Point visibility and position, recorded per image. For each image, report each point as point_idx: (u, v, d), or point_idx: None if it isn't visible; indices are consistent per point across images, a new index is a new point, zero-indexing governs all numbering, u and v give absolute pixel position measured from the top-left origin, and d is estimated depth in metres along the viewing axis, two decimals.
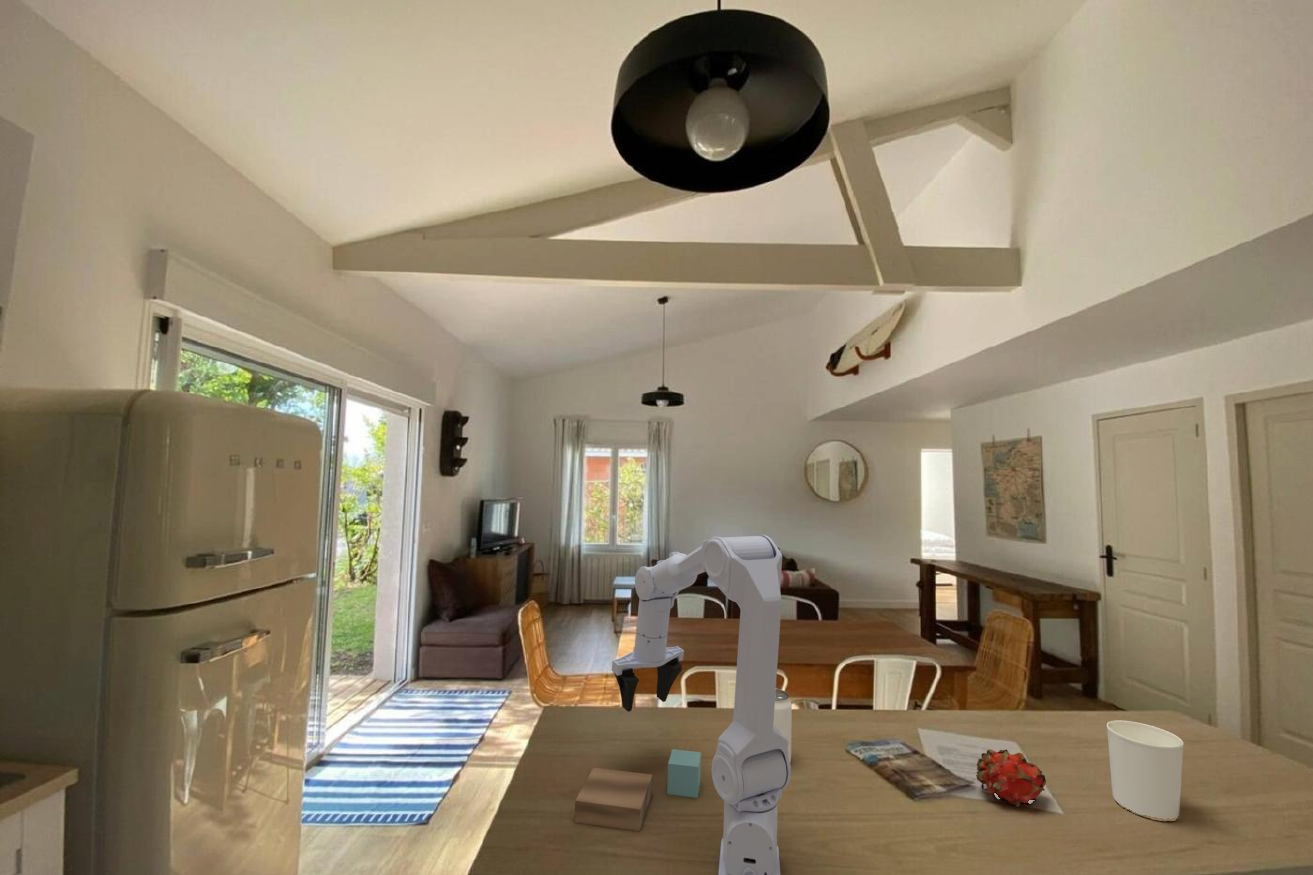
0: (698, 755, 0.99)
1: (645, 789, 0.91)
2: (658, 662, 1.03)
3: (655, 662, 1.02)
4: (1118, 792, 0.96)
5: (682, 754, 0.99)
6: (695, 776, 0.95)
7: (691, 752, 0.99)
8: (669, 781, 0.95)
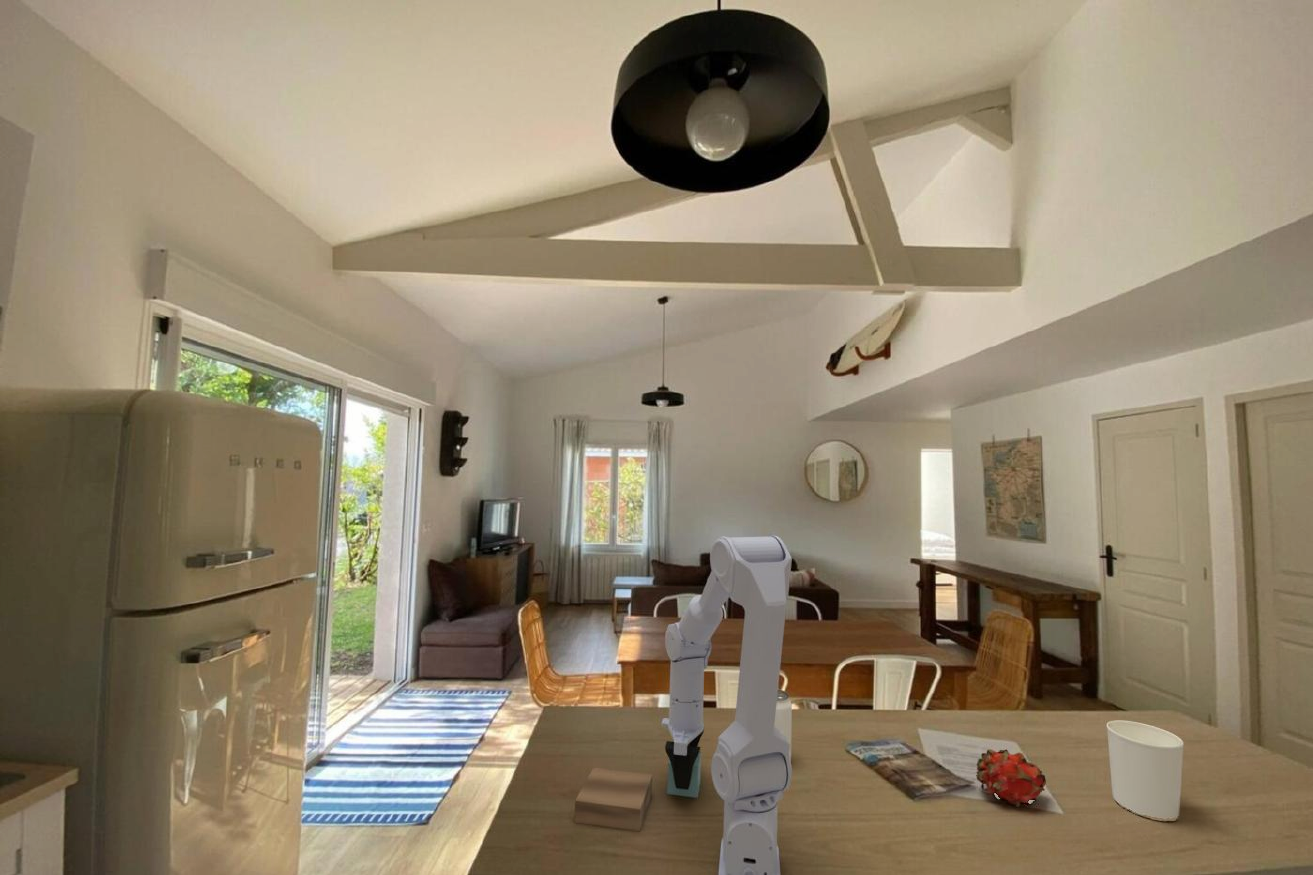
0: (698, 754, 0.99)
1: (645, 789, 0.91)
2: (703, 724, 0.97)
3: (702, 726, 0.97)
4: (1118, 792, 0.96)
5: None
6: (694, 775, 0.95)
7: None
8: (669, 780, 0.95)
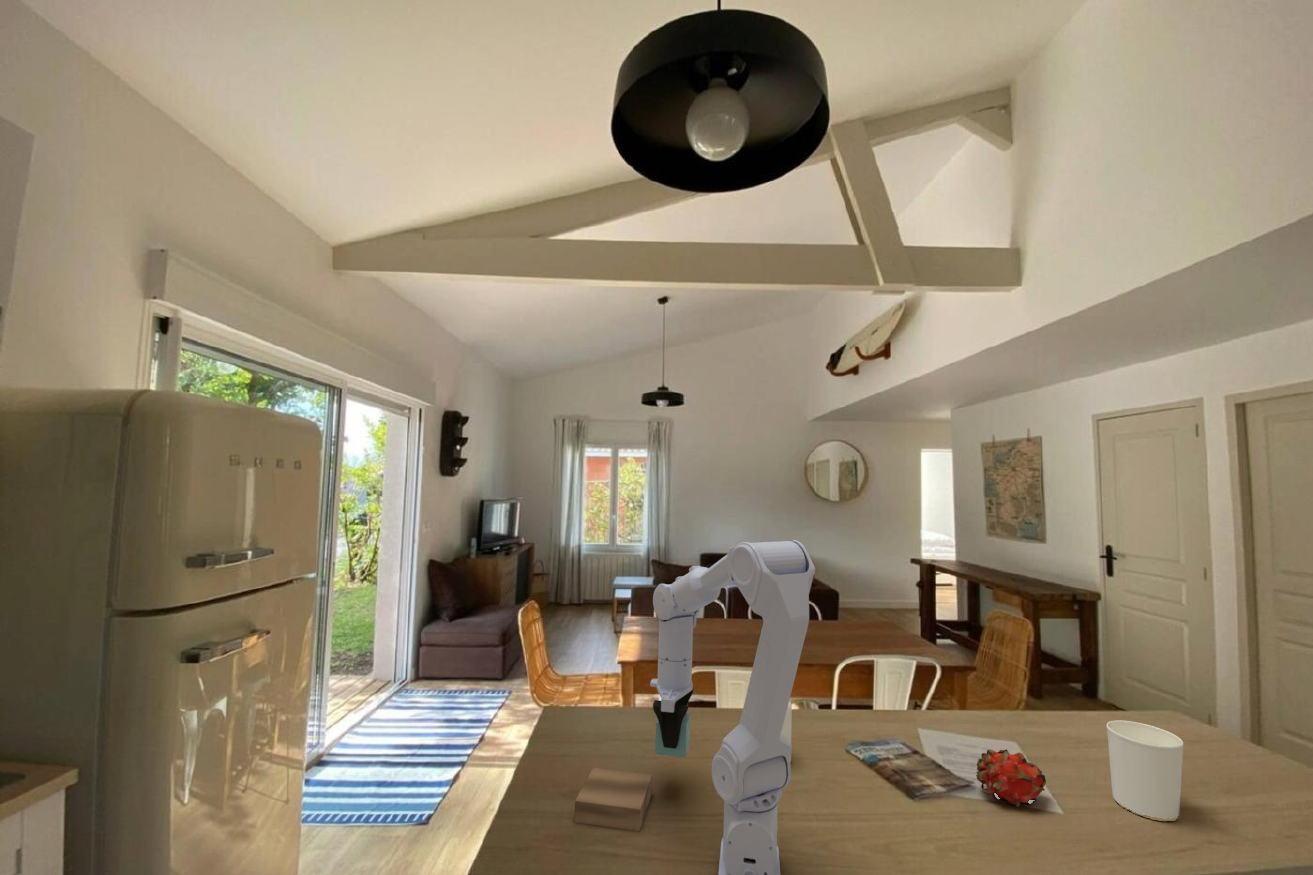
0: (687, 715, 0.98)
1: (645, 789, 0.91)
2: (691, 684, 0.97)
3: (690, 685, 0.96)
4: (1118, 792, 0.96)
5: None
6: (683, 735, 0.94)
7: None
8: (657, 740, 0.95)
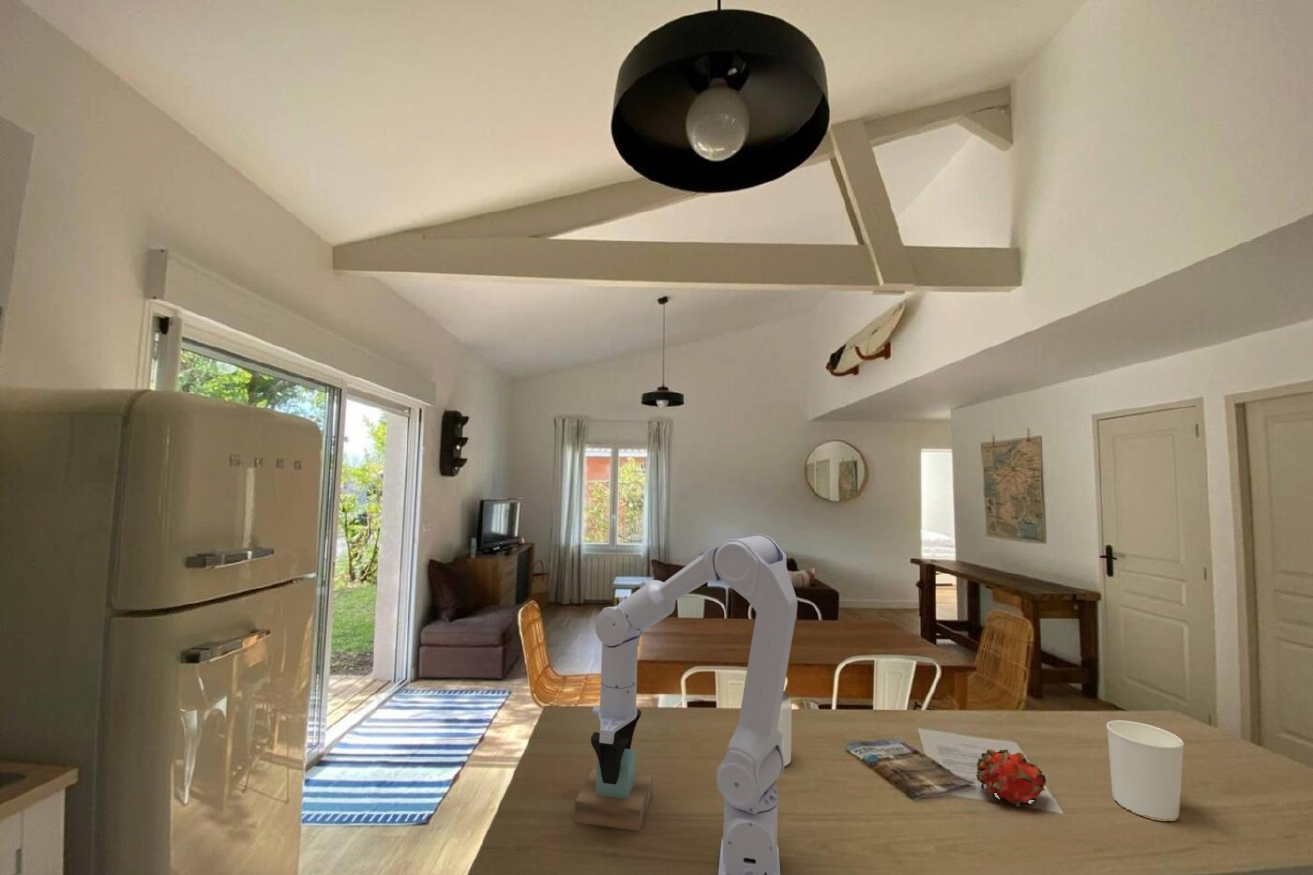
0: (631, 753, 0.92)
1: (645, 790, 0.91)
2: (636, 712, 0.91)
3: (634, 713, 0.91)
4: (1118, 792, 0.96)
5: None
6: (624, 775, 0.89)
7: (625, 750, 0.93)
8: (598, 780, 0.89)
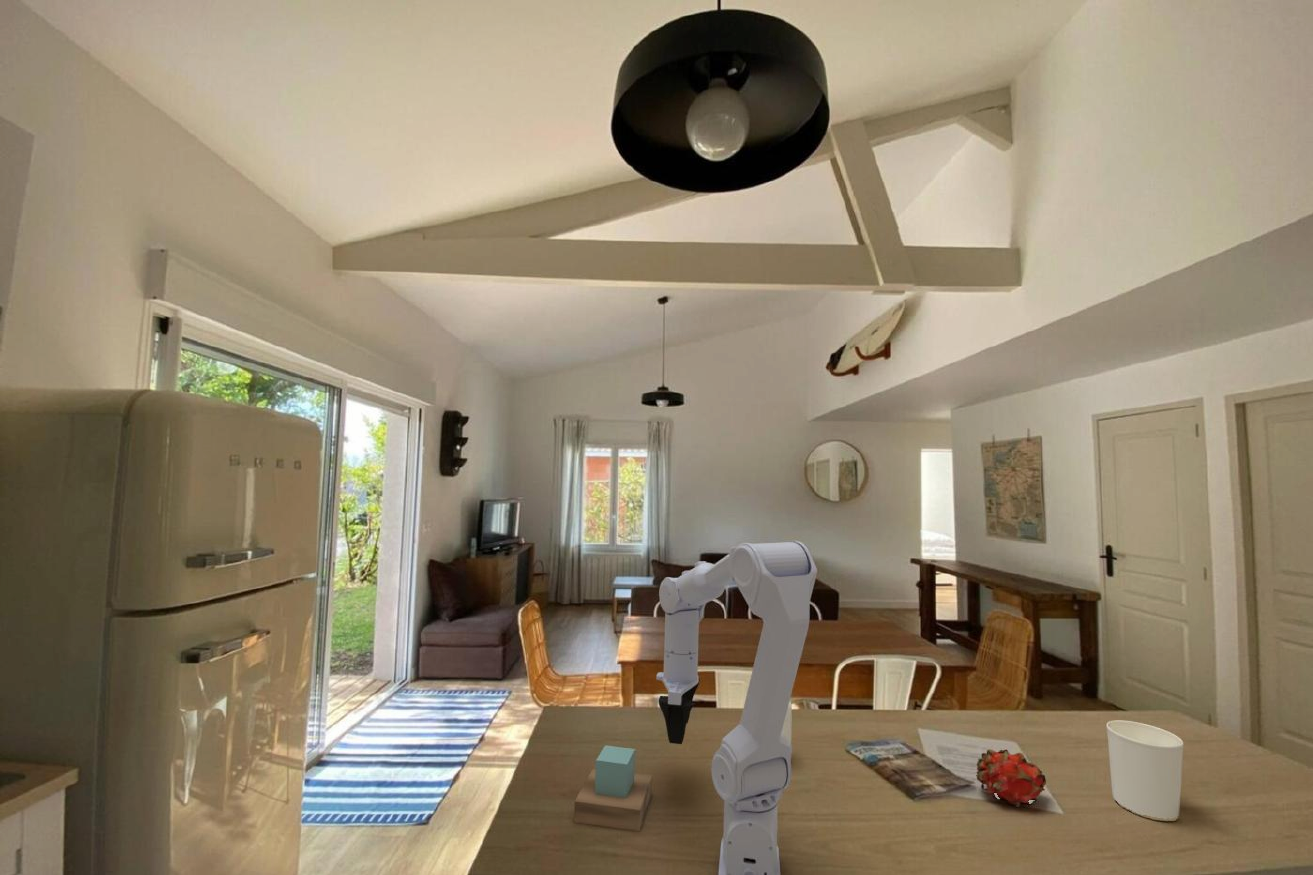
0: (631, 752, 0.93)
1: (645, 790, 0.91)
2: (697, 677, 0.97)
3: (696, 678, 0.96)
4: (1118, 792, 0.96)
5: (614, 750, 0.93)
6: (623, 774, 0.89)
7: (624, 749, 0.94)
8: (597, 779, 0.90)
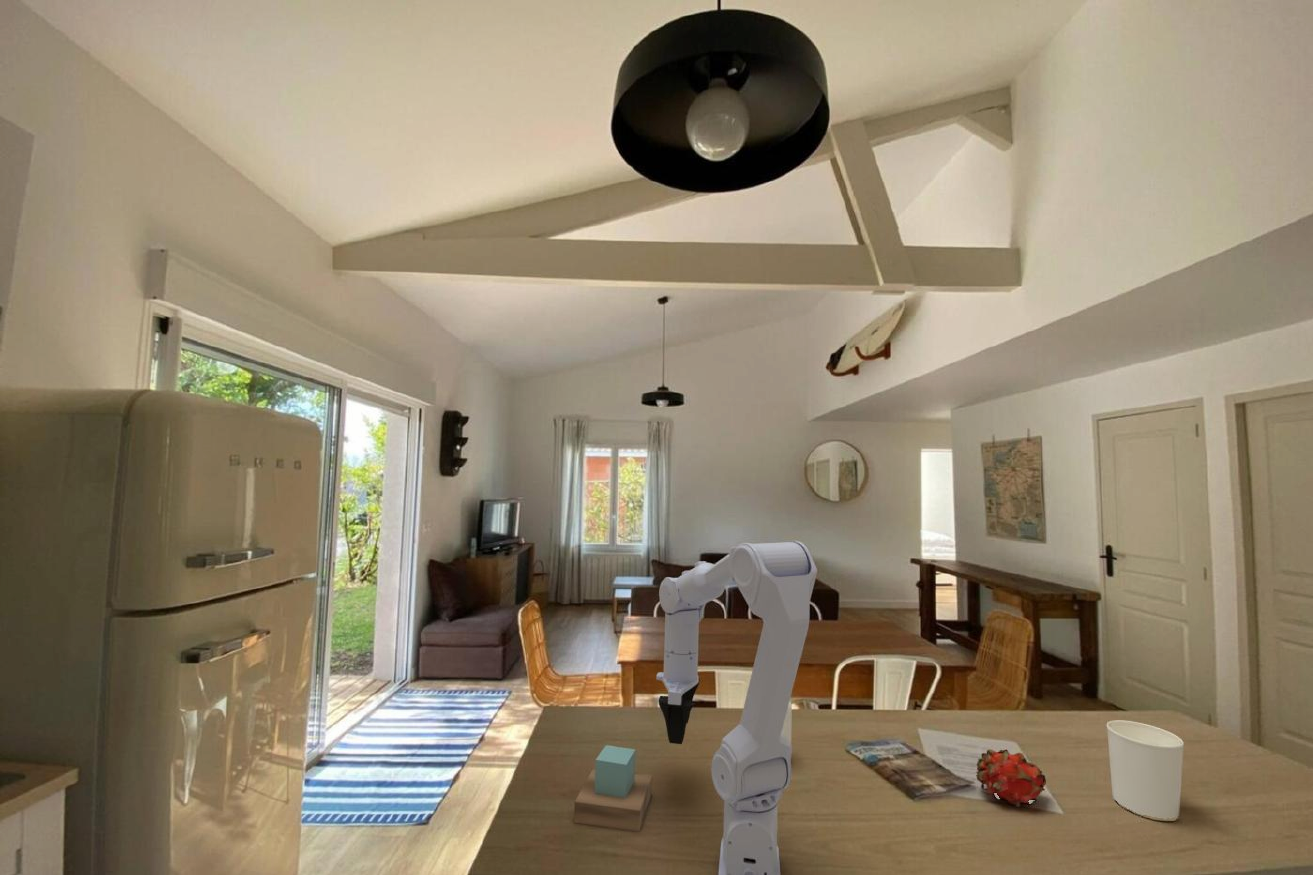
0: (631, 752, 0.93)
1: (645, 790, 0.91)
2: (697, 677, 0.97)
3: (696, 678, 0.96)
4: (1118, 792, 0.96)
5: (614, 750, 0.93)
6: (622, 774, 0.89)
7: (625, 749, 0.94)
8: (596, 778, 0.90)
